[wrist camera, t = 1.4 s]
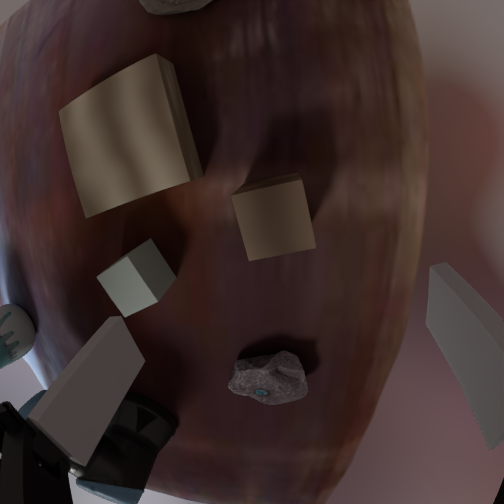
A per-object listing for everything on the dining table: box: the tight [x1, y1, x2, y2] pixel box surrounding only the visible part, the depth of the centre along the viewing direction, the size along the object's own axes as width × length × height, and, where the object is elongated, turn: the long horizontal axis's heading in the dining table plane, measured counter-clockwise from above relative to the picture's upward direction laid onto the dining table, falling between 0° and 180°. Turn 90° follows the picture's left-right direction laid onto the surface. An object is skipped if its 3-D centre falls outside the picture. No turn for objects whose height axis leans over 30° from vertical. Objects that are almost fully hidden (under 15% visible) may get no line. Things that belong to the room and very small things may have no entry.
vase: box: [0, 304, 35, 369], centre depth 36 cm, size 12×12×18 cm
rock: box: [228, 350, 308, 405], centre depth 37 cm, size 8×11×5 cm
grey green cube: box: [97, 238, 176, 317], centre depth 32 cm, size 6×6×6 cm
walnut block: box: [231, 172, 316, 261], centre depth 27 cm, size 6×6×7 cm
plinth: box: [59, 53, 204, 218], centre depth 27 cm, size 14×14×5 cm
